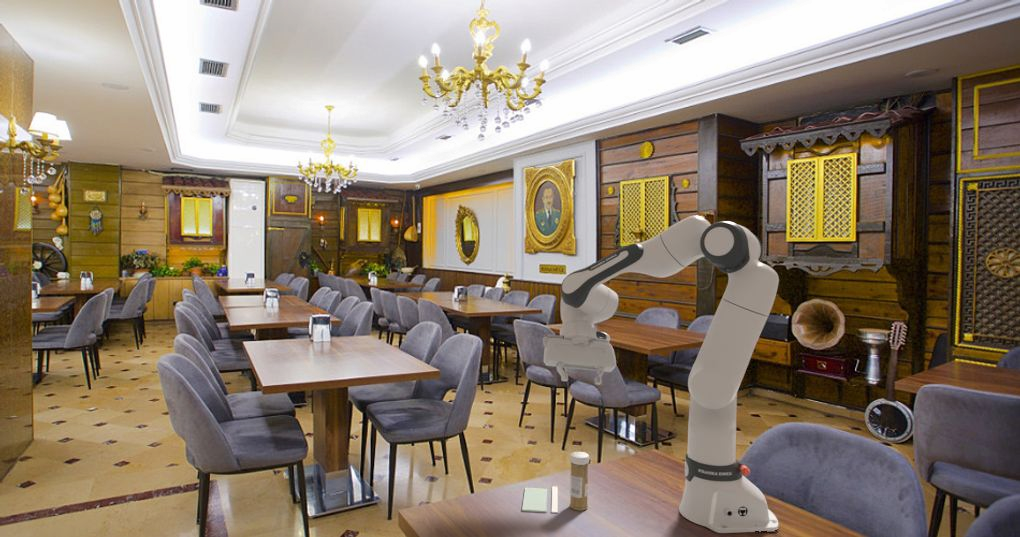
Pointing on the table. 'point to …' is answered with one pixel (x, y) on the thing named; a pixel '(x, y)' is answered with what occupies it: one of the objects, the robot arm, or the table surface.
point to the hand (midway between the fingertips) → (581, 382)
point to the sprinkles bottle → (579, 481)
